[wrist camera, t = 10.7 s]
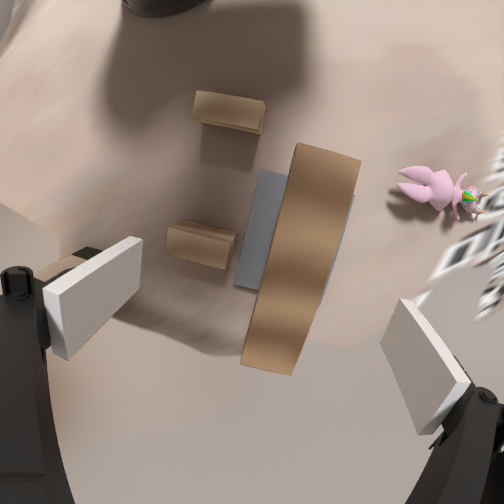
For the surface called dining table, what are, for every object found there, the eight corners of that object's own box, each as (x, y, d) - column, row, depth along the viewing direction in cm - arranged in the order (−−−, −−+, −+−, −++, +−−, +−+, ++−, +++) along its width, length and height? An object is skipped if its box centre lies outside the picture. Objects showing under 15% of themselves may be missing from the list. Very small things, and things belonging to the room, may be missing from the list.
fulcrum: (261, 169, 34) (255, 170, 26) (352, 194, 33) (370, 202, 26) (235, 280, 38) (223, 308, 30) (318, 301, 37) (326, 332, 30)
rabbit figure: (476, 179, 32) (394, 151, 30) (505, 185, 26) (422, 151, 25) (468, 222, 34) (386, 202, 32) (496, 232, 28) (413, 212, 26)
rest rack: (208, 99, 32) (197, 90, 27) (266, 110, 32) (263, 101, 27) (178, 242, 37) (164, 253, 32) (232, 256, 37) (224, 269, 32)
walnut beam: (295, 146, 25) (298, 142, 21) (348, 161, 25) (361, 160, 21) (245, 339, 31) (239, 364, 27) (290, 349, 31) (290, 375, 27)
